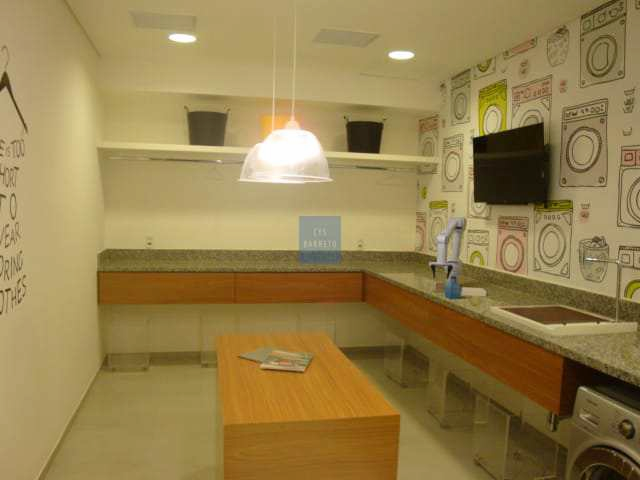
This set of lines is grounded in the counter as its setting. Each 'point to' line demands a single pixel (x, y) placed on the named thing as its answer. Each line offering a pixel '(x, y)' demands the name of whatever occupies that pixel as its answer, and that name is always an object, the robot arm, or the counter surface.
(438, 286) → the walnut cube
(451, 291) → the perfume bottle
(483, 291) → the base block
